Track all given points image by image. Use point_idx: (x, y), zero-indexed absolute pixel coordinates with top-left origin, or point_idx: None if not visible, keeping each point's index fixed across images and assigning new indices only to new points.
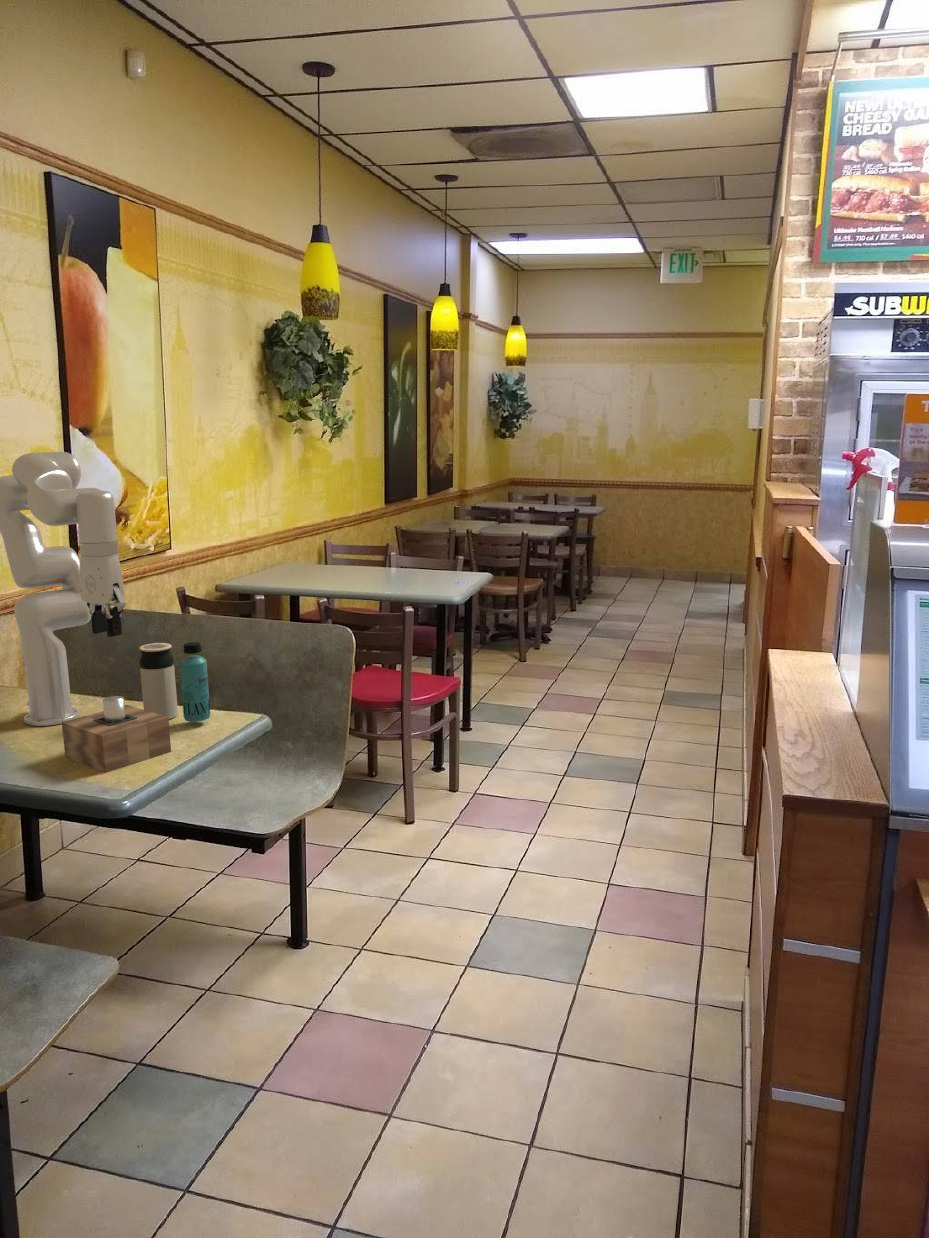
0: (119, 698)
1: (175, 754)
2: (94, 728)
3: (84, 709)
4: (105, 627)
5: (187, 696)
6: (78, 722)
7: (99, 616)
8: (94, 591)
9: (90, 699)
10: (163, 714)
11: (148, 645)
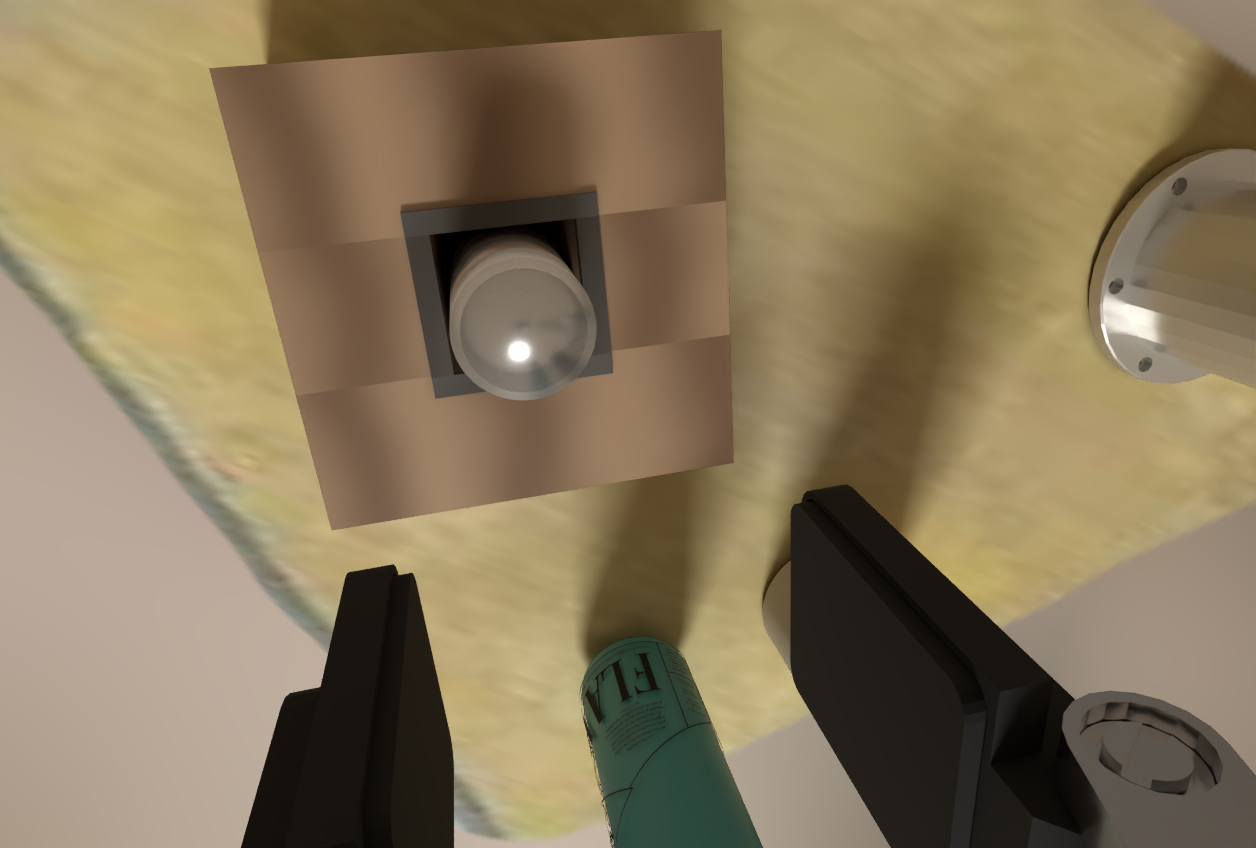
0: (493, 363)
1: (303, 444)
2: (426, 116)
3: (1166, 419)
4: (818, 699)
5: (639, 724)
6: (631, 105)
7: (934, 795)
8: None
9: (1243, 487)
10: (777, 601)
11: None
